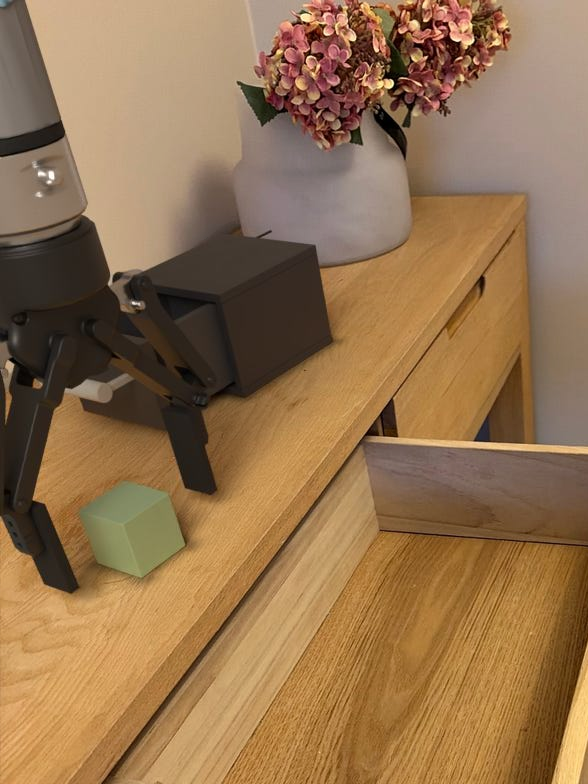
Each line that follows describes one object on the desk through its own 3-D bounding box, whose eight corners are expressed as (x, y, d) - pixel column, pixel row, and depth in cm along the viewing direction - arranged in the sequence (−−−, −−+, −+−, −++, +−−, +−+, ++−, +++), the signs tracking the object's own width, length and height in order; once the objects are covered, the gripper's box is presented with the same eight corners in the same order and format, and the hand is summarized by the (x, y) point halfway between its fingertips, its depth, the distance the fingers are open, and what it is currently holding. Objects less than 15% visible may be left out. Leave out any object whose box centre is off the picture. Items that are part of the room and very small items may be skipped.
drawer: (130, 454, 82) (100, 366, 77) (46, 432, 86) (13, 347, 81) (260, 373, 93) (241, 291, 88) (180, 357, 97) (157, 278, 92)
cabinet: (244, 397, 91) (219, 294, 85) (154, 378, 96) (124, 279, 90) (332, 341, 100) (315, 244, 93) (245, 326, 104) (224, 233, 98)
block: (97, 563, 71) (76, 510, 68) (142, 532, 74) (124, 479, 71) (141, 578, 69) (122, 524, 66) (186, 545, 72) (169, 492, 69)
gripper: (-131, 310, 47) (31, 650, 60) (219, 172, 63) (286, 464, 77) (-218, 293, 50) (-46, 619, 64) (136, 165, 67) (214, 447, 80)
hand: (136, 535), depth 70 cm, fingers open, 13 cm apart
